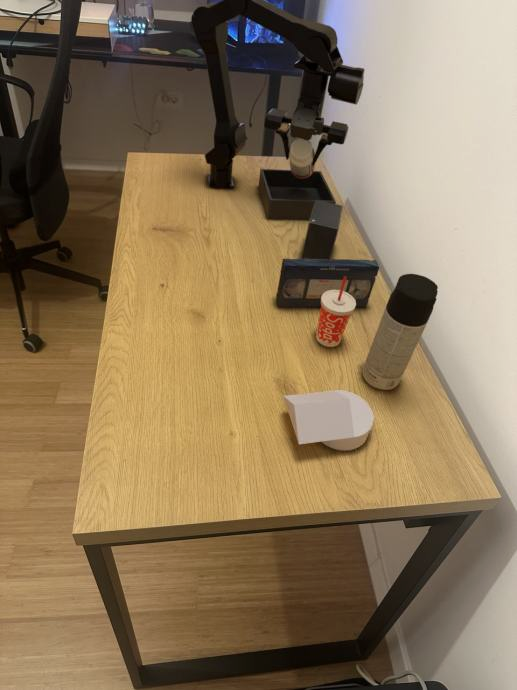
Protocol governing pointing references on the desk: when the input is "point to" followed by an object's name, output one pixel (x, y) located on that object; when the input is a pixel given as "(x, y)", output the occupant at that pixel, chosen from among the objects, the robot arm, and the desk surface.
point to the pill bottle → (301, 158)
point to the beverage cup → (334, 315)
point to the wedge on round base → (330, 418)
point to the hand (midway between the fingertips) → (300, 162)
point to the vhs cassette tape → (324, 280)
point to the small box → (322, 230)
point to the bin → (292, 194)
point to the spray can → (399, 330)
